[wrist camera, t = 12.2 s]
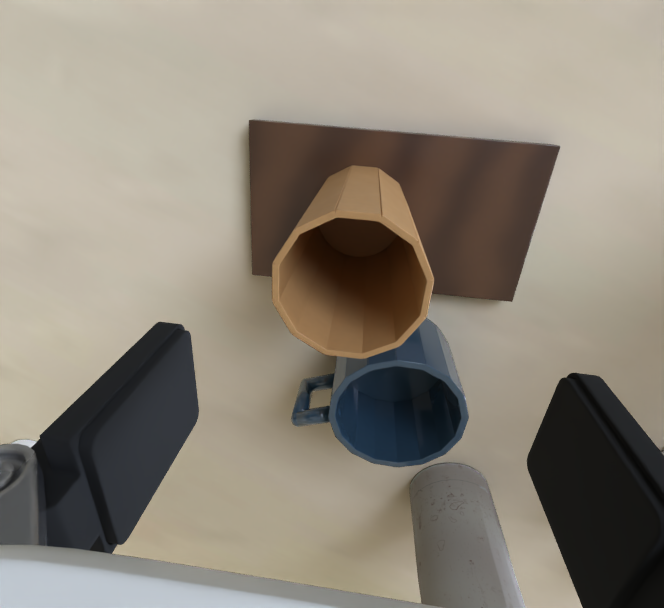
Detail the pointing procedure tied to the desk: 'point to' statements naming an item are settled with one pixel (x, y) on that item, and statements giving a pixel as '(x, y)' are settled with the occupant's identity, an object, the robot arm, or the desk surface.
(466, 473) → the thermos bottle
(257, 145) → the serving board
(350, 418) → the mug
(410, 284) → the paper cup
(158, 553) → the desk surface
